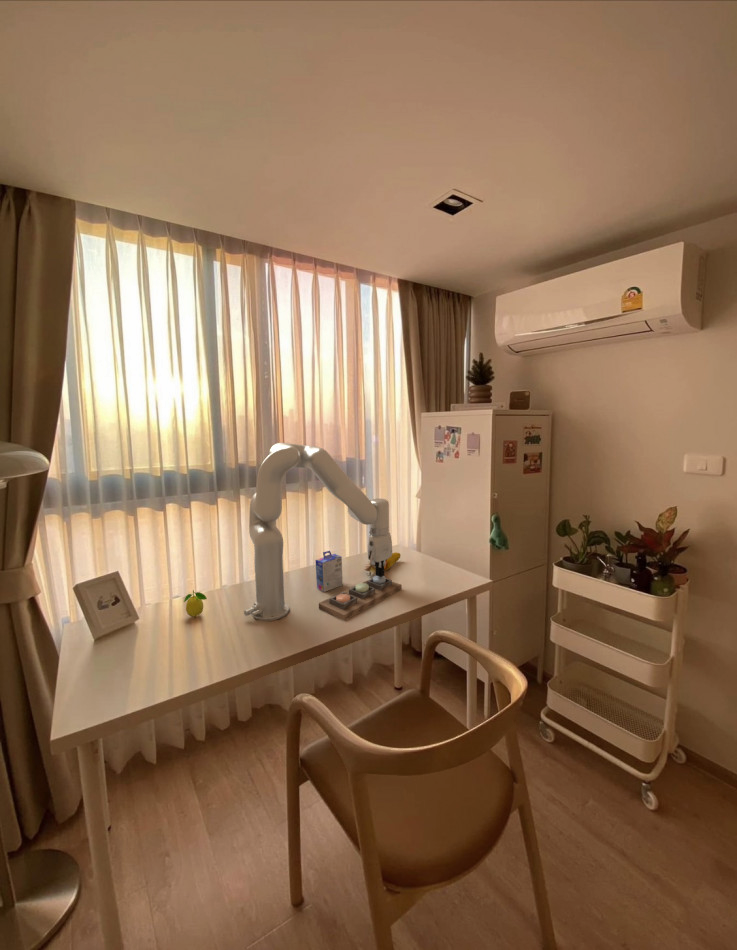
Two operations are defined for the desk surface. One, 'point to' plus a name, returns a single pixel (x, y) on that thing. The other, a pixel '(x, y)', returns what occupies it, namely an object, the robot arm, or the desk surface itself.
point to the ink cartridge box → (329, 572)
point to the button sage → (362, 588)
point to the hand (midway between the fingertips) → (379, 575)
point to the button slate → (379, 580)
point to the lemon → (194, 603)
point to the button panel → (359, 599)
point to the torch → (388, 564)
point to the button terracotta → (343, 598)
